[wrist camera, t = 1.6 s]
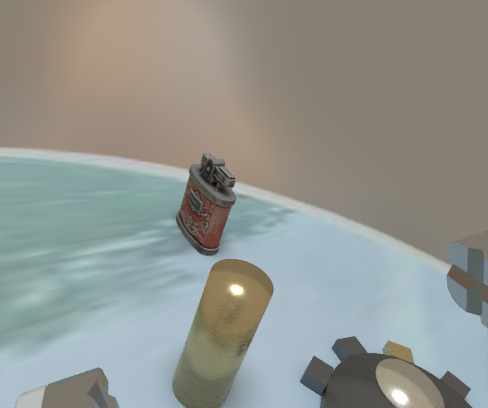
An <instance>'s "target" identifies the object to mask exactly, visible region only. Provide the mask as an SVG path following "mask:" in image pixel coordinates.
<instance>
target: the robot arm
mask: <svg viewBox="0 0 488 408" xmlns="http://www.w3.org/2000/svg"><path fill="white" fill-rule="evenodd" d="M447 260H448V261H449V262H450V263H451V264H452V267H451V269H450V270H449V272H448V274H447V287H448V290H449V292H450V294H451V296H452V298H453V300H454V301H455V302H456V303H457V305H458V306H460V307H461V308H462V309H463V310H465V311H466V312H468V313H472V314H476V315H479V316H480V318H481V322H482V324H483V325H484V326H486V327H487V328H488V229H487V230H486V231H483V232H481V233H478V234H475V235H472V236H470V237H467V238H464V239H461V240H459V241H456V242H453V243H450V244H449V247H448V249H447ZM15 408H119V405H118V403H117V401H116V398H115V397H113V396H111V395H108V380H107V378H106V376H105V374H104V372H103V370H102V369H100V368H96V369H93V370H90V371H87V372H84V373H80V374H77V375H74V376H71V377H68V378H65V379H62V380H59V381H56V382H53V383H50V384H48V385H45V386H42V387H39V388H36V389H33V390H30V391H27V392H24V393H22V394H21V395H20V396H19V397H18V399H17V401H16V405H15Z"/></svg>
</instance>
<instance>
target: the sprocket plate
mask: <svg viewBox="0 0 488 408" xmlns="http://www.w3.org/2000/svg"><path fill="white" fill-rule="evenodd" d="M332 349H333V350H334V352H335V353H336V354H337V356H338V357H339V359H340V360H341V361H342V362H341V363H340V364H339V365H338V366H337V367H336V368H335V370H334V371H333V369H334V368H333V367H331V366H329V365H328V364H326V363H325V362H323V361H322V360H320V359H318V358H317V357H315V356H313V358H312V360H311V362H310V364H309V365H308V367H307V369H306V371H305V373H304V375H303V377H302V379H301V381H300V382H301V383H303V384H304V385H306V386H307V387H309V388H310V389H312V390H313V391H315V392H316V393H318V394H320V395H321V394H322V397H321V408H472V407H471V406H470V405H469V404H468V403H467V402H466V401H465V400H464V399H465V397H466V396H467V394H468V393H469V391H470V390H471V389H470V388H469V387H468V386H467V385H465V384H464V383H463V382H462V381H460V380H459V379H458V378H457V377H455V376H454V375H453V374H452V373H450V372H449V371H447V372H446V374H445V375H444V376H443V377H442V379H441V380H440V379H438V378H437V377H436V376H434V375H432V374H431V373H429V372H427V371H426V370H424V369H422V368H420V367H418V366H416V365H414V361H413V357H412V353H411V349H410V348H407V347H404V346H402V345H399V344H396V343H394V342H391V341H388V342H387V343H386V345H385V346H384V348H383V352H384V354H377V353H367V351H366V350H365V349H364V347H363V346H362V345H361V344H360V342H359V341H358V340H357V338H356V337H355V336H354V337H348V338H343V339H337V340H336V342H335V344H334V345H333V347H332ZM332 372H333V373H332ZM322 392H323V393H322Z"/></svg>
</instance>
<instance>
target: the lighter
mask: <svg viewBox="0 0 488 408" xmlns="http://www.w3.org/2000/svg"><path fill="white" fill-rule="evenodd" d="M201 161H202V163H201V164H193V165H191V167H190V170H189V174H190V176H189V180H188V183H187V187H186V191H185V194H184V198H183V201H182V205H181V208H180V211H179V212H178V213H177V217H176V222H177V224H178V227H179V229H180V231H181V232H182V234H183V236H184V237H185V238H186V239H187V241H188V242H189V243H190V244H191V245H192V246H193V247H194V248H195V249H196V250H197V251H198V252H199V253H201V254H203V255H207V256H212V255H215V254H217V252H218V249H219V246H220V245H219V241H220V238H221V235H222V233H223V230H224V227H225V224H226V221H227V218H228V215H229V212H230V209H231V206H233V205H234V203H235V200H236V195H235V194H234V192H233V191H232V189H231V188H233V187H234V184H235V181H236V178H235V176H234V175H233V174H232V173H231V172H230V171H229V170H228V169H227V168H226V167H225V162H224V160H223V159H216V158H215V157H214V156H213V155H212V154H211V153H203V156H202V160H201Z"/></svg>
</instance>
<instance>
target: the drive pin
mask: <svg viewBox="0 0 488 408" xmlns="http://www.w3.org/2000/svg"><path fill="white" fill-rule="evenodd" d="M273 290H274V289H273V284H272V282H271V280H270V278H269V277H268V276H267V274H266V273H265V272H264V271H262V270H261V269H260V268H258V267H257V266H255V265H253V264H251V263H248V262H246V261H242V260H237V259H225V260H221V261H219V262H217V263H215V264H214V265H213V267H212V268H211V271H210V274H209V277H208V280H207V282H206V285H205V288H204V291H203V294H202V297H201V300H200V303H199V305H198V308H197V311H196V314H195V317H194V320H193V323H192V326H191V329H190V331H189V334H188V337H187V340H186V343H185V346H184V349H183V352H182V354H181V357H180V360H179V363H178V366H177V369H176V372H175V375H174V378H173V382H172V386H173V391H174V394H175V396H176V397H177V399H178V400H179V401H180V402H181V403H182V404H183V405H184V406H185V407H187V408H219V407H220V406H221V405H222V404H223V403H224V401H225V399H226V397H227V395H228V392H229V390H230V388H231V386H232V383H233V381H234V379H235V377H236V375H237V372H238V370H239V368H240V366H241V363H242V361H243V359H244V357H245V355H246V352H247V350H248V348H249V346H250V343H251V341H252V339H253V337H254V335H255V332H256V330H257V328H258V326H259V323H260V321H261V319H262V317H263V315H264V312H265V310H266V308H267V306H268V303H269V301H270V299H271V297H272V295H273Z"/></svg>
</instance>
